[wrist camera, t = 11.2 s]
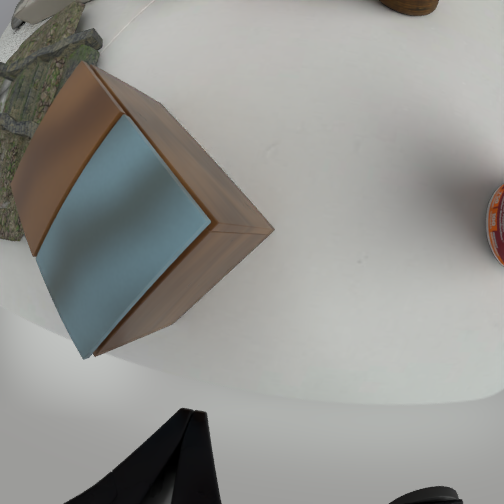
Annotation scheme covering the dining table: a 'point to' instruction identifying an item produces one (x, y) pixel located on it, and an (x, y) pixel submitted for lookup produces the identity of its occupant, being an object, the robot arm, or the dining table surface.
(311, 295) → the dining table surface
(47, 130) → the brown open cube
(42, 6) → the box
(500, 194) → the pill bottle
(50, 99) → the archway
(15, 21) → the flying saucer
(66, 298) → the blue panel
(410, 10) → the utensil holder
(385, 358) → the dining table surface
